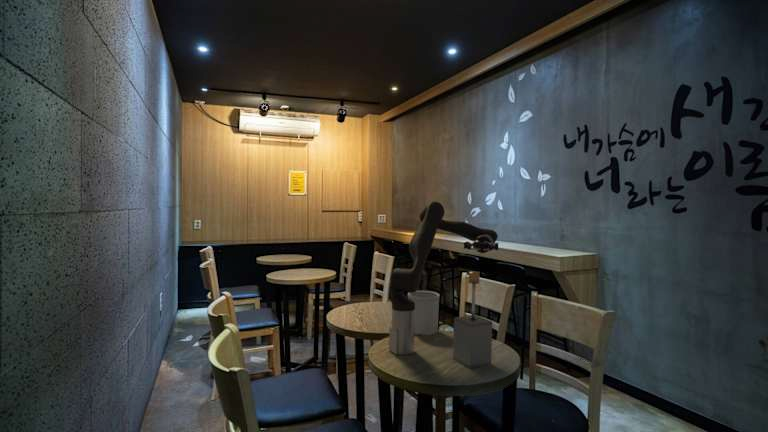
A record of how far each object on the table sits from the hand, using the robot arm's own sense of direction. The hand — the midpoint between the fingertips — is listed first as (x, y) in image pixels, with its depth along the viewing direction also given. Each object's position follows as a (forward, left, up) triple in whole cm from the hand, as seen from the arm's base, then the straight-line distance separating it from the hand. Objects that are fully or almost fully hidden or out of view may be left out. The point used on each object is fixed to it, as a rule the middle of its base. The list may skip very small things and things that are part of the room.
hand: (479, 247), depth 171 cm
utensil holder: (-8, +29, -42) cm, 52 cm away
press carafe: (-11, -11, -42) cm, 45 cm away
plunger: (-11, -11, -31) cm, 35 cm away
